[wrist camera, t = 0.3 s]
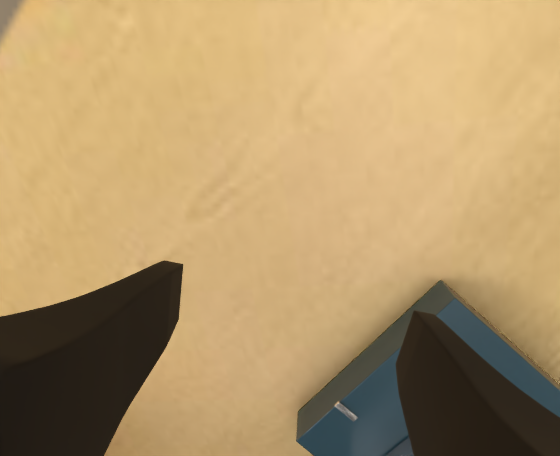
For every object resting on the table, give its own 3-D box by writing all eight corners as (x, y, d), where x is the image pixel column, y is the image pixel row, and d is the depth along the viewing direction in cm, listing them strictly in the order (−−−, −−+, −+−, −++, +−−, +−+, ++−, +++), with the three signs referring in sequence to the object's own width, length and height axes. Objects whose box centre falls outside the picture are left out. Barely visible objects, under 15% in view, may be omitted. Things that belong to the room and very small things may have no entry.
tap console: (396, 519, 27) (404, 560, 24) (279, 425, 26) (275, 459, 23) (565, 390, 23) (596, 423, 21) (439, 278, 22) (455, 297, 20)
